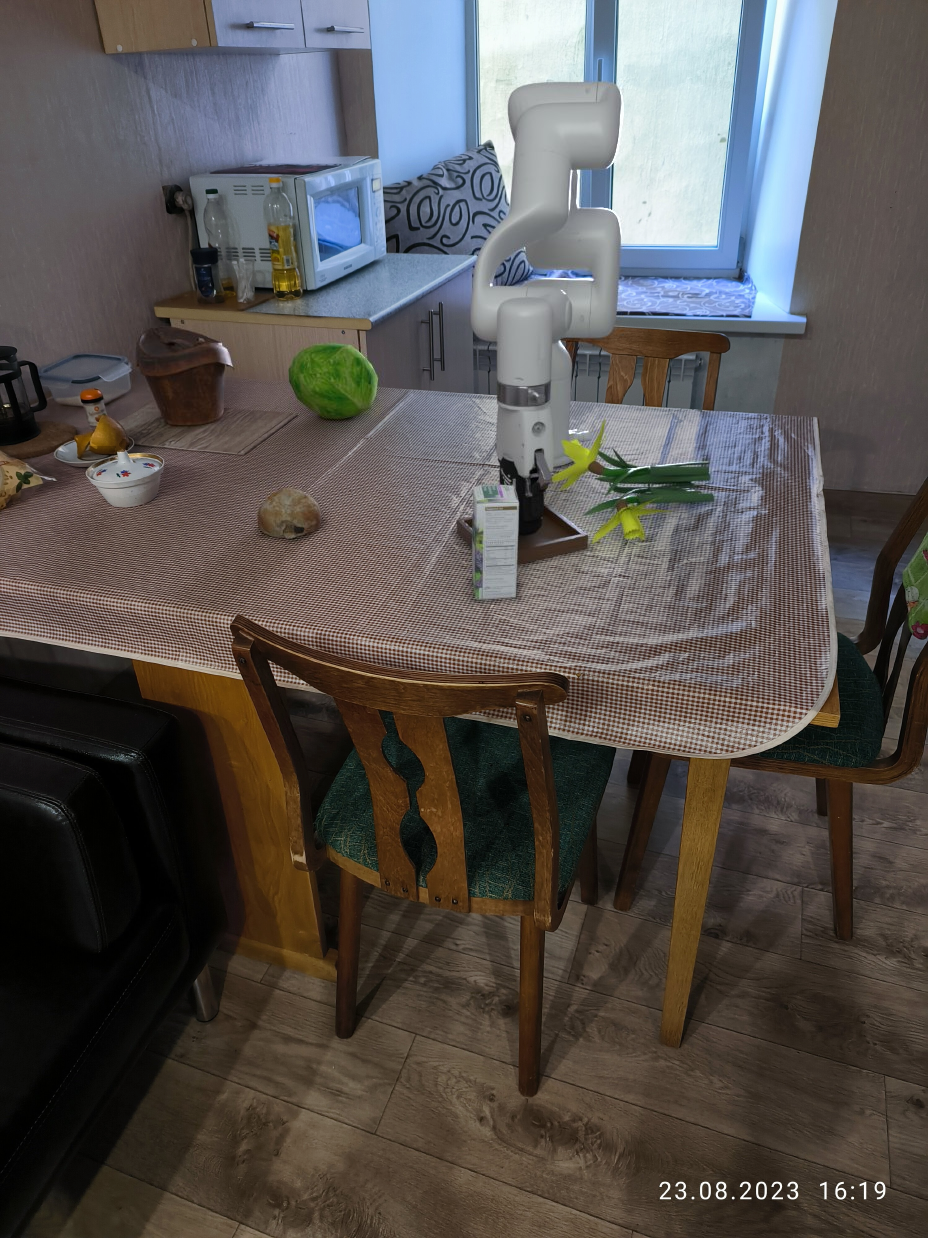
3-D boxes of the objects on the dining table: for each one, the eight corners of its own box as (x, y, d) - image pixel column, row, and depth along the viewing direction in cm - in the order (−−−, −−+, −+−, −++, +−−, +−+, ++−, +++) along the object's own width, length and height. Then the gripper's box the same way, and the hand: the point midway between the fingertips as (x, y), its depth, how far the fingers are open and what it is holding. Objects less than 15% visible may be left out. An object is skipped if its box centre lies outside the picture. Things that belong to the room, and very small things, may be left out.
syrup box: (471, 580, 122) (470, 485, 114) (512, 578, 122) (514, 482, 115) (475, 600, 117) (474, 502, 109) (518, 598, 117) (520, 500, 110)
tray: (544, 514, 140) (544, 501, 139) (587, 548, 130) (588, 534, 128) (456, 533, 135) (456, 519, 134) (494, 570, 124) (494, 556, 123)
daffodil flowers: (752, 520, 139) (625, 532, 115) (676, 542, 149) (544, 557, 125) (729, 419, 139) (598, 410, 115) (655, 448, 150) (520, 445, 126)
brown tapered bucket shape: (230, 430, 178) (216, 342, 169) (135, 431, 178) (115, 343, 169) (250, 403, 193) (237, 321, 184) (162, 404, 194) (145, 322, 184)
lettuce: (401, 405, 189) (367, 339, 190) (373, 385, 169) (334, 312, 170) (337, 444, 193) (303, 380, 194) (302, 429, 173) (264, 357, 174)
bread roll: (268, 561, 136) (268, 527, 129) (248, 514, 140) (247, 479, 134) (327, 546, 140) (330, 513, 133) (306, 501, 144) (308, 467, 138)
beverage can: (539, 539, 128) (541, 462, 122) (495, 535, 129) (496, 460, 123) (544, 520, 133) (547, 446, 127) (503, 517, 134) (503, 444, 128)
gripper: (578, 405, 115) (572, 527, 124) (519, 373, 128) (517, 485, 138) (528, 413, 112) (525, 537, 122) (473, 379, 126) (474, 493, 135)
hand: (521, 508), depth 129 cm, fingers closed on beverage can, 6 cm apart
